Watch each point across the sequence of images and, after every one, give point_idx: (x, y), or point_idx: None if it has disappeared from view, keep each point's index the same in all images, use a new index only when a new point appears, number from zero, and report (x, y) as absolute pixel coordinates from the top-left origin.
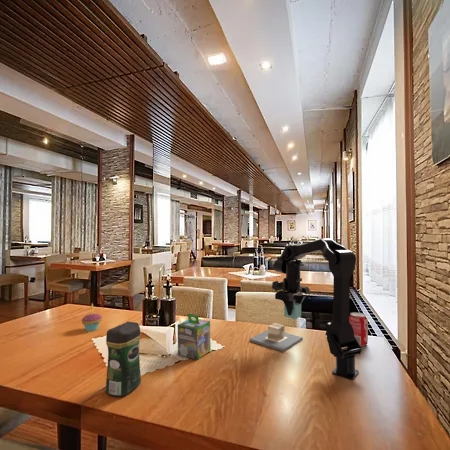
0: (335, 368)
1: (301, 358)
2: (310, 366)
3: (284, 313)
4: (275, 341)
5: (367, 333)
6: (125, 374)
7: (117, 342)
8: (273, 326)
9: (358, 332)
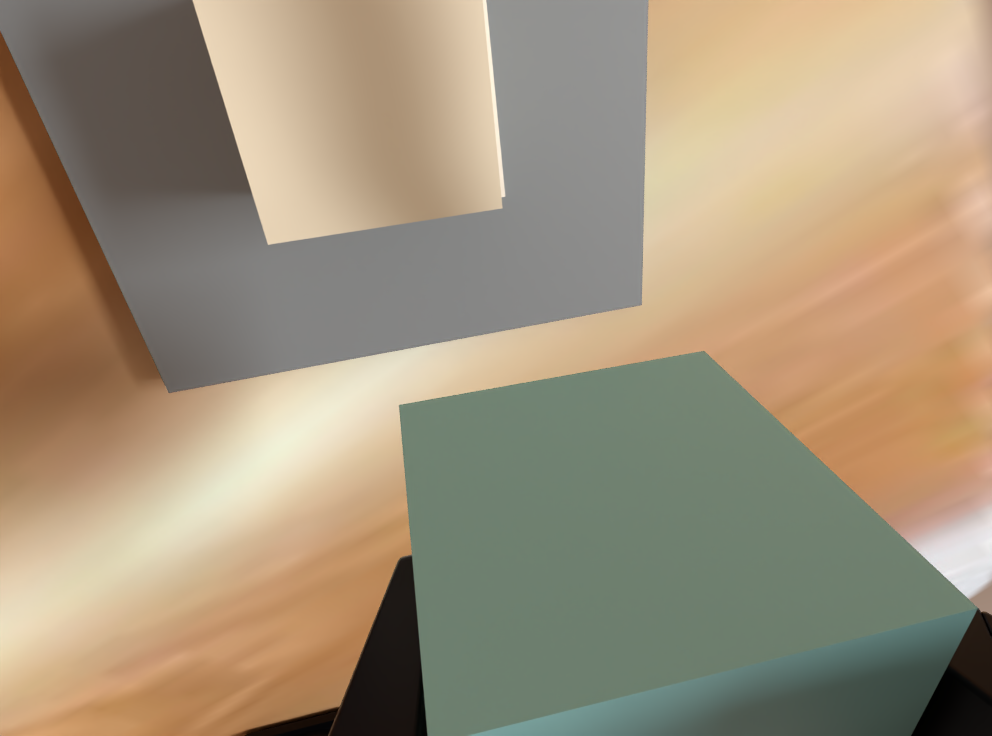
0: (299, 730)
1: (235, 538)
2: (188, 639)
3: (405, 456)
4: None
5: None
6: None
7: None
8: (279, 79)
9: None
